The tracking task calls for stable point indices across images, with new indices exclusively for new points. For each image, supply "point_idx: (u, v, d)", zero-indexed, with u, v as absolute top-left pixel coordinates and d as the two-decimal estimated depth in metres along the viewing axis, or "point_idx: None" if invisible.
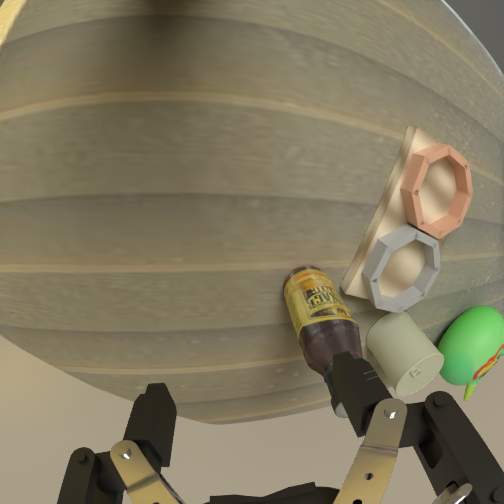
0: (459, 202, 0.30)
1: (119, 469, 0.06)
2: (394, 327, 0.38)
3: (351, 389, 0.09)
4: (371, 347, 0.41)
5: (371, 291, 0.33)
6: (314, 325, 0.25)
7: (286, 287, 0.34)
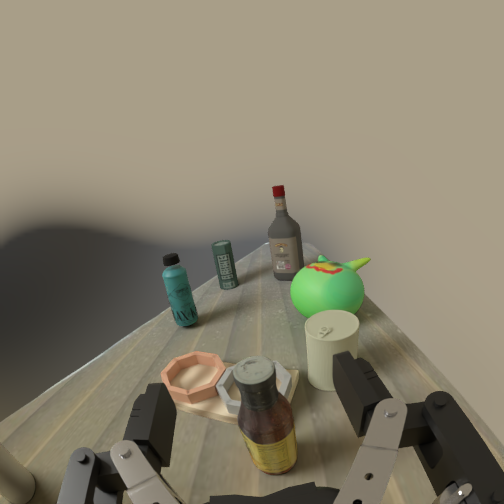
0: (203, 359, 0.51)
1: (119, 469, 0.06)
2: (313, 372, 0.44)
3: (351, 389, 0.09)
4: None
5: None
6: (244, 433, 0.25)
7: (267, 471, 0.27)
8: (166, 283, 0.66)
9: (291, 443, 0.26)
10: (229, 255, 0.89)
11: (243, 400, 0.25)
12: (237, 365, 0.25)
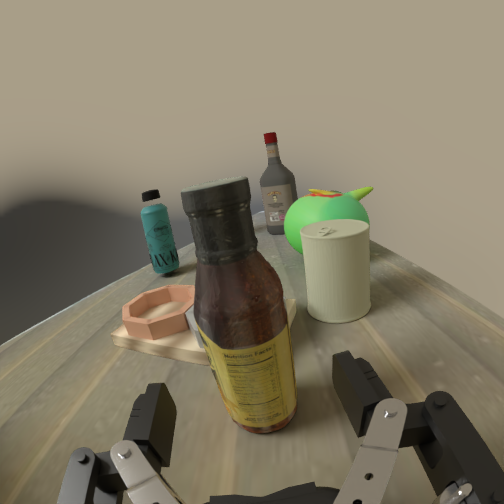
0: (177, 294, 0.43)
1: (119, 469, 0.06)
2: (314, 297, 0.35)
3: (351, 389, 0.09)
4: (355, 307, 0.33)
5: None
6: (202, 326, 0.17)
7: (249, 423, 0.19)
8: (144, 221, 0.58)
9: (284, 360, 0.18)
10: None
11: (197, 247, 0.16)
12: (190, 186, 0.17)
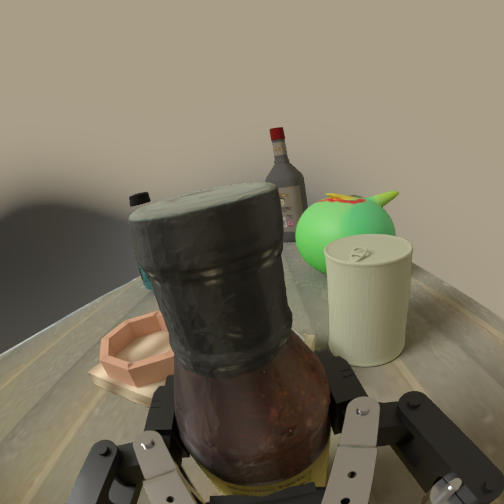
0: None
1: (139, 459, 0.07)
2: (340, 335, 0.26)
3: None
4: (391, 347, 0.24)
5: None
6: (190, 450, 0.08)
7: None
8: None
9: (320, 474, 0.09)
10: None
11: (169, 334, 0.07)
12: (155, 202, 0.08)
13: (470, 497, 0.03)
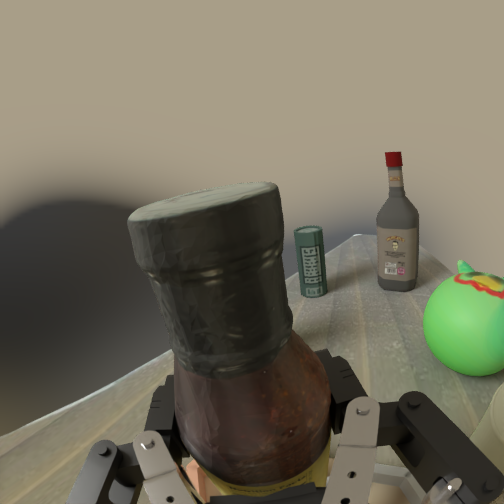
0: None
1: (139, 459, 0.07)
2: None
3: None
4: None
5: None
6: (190, 451, 0.08)
7: None
8: None
9: (321, 474, 0.09)
10: (319, 248, 0.58)
11: (169, 334, 0.07)
12: (155, 202, 0.08)
13: (470, 497, 0.03)
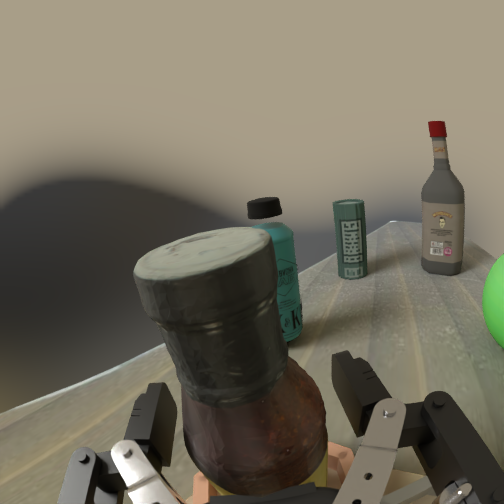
0: None
1: (120, 469, 0.06)
2: None
3: (350, 389, 0.09)
4: None
5: None
6: (198, 466, 0.08)
7: None
8: None
9: (319, 484, 0.09)
10: (361, 223, 0.50)
11: (177, 369, 0.08)
12: (157, 249, 0.08)
13: None
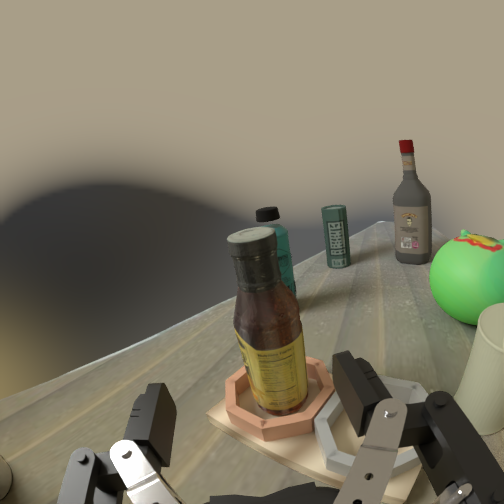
0: None
1: (119, 469, 0.06)
2: (468, 406, 0.18)
3: (351, 389, 0.09)
4: None
5: (399, 466, 0.15)
6: (241, 335, 0.23)
7: (272, 407, 0.25)
8: None
9: (300, 357, 0.24)
10: (343, 223, 0.65)
11: (239, 280, 0.23)
12: (232, 234, 0.23)
13: None
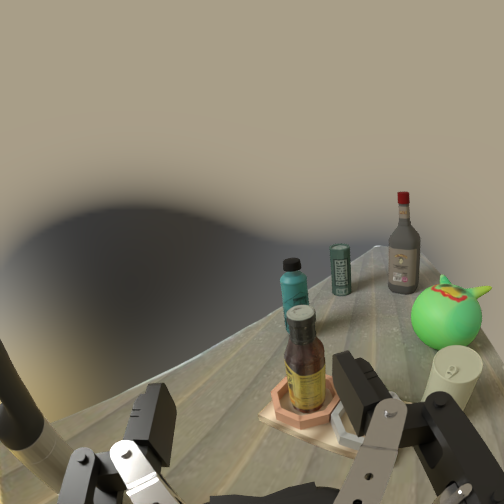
0: None
1: (119, 469, 0.06)
2: None
3: (351, 389, 0.09)
4: None
5: None
6: (291, 367, 0.38)
7: (304, 407, 0.40)
8: (284, 289, 0.63)
9: (323, 377, 0.39)
10: (347, 261, 0.80)
11: (292, 337, 0.37)
12: (288, 311, 0.38)
13: None
